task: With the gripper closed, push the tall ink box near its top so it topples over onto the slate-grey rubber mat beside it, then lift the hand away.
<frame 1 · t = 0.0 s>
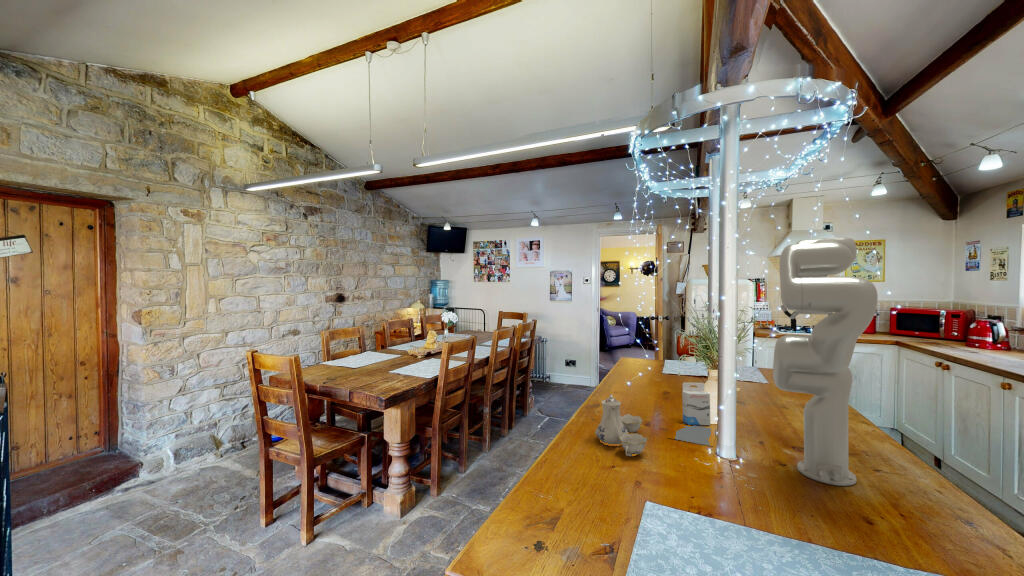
hand: (812, 331, 126), 37 cm above the table, tool pointing down, fingers open, 9 cm apart
chinaware: (621, 443, 130), on the table
ink box: (696, 423, 145), on the table, touching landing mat
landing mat: (692, 434, 135), on the table
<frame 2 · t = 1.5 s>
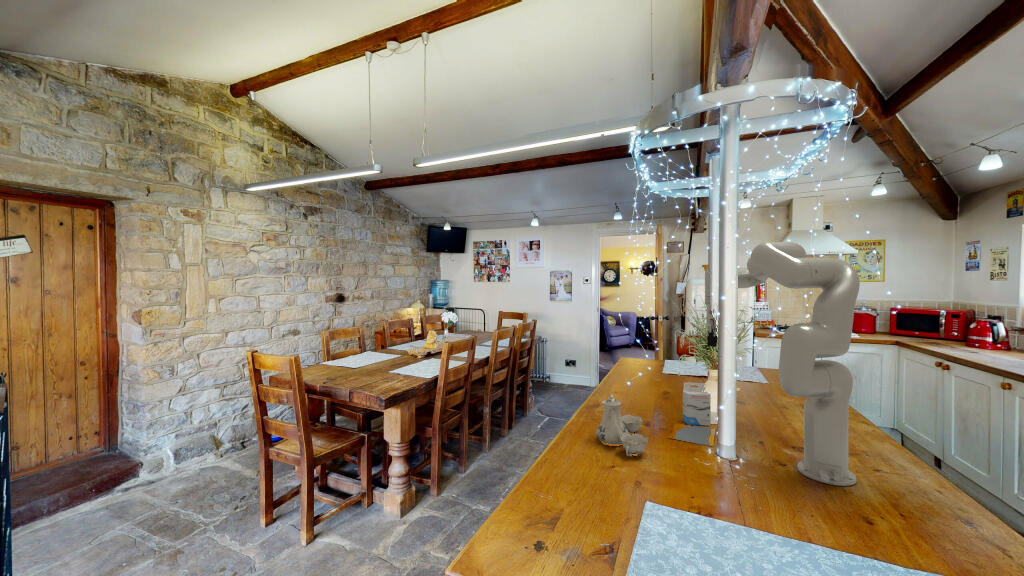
hand: (715, 344, 150), 29 cm above the table, tool pointing down, fingers open, 9 cm apart
nothing on the table moved.
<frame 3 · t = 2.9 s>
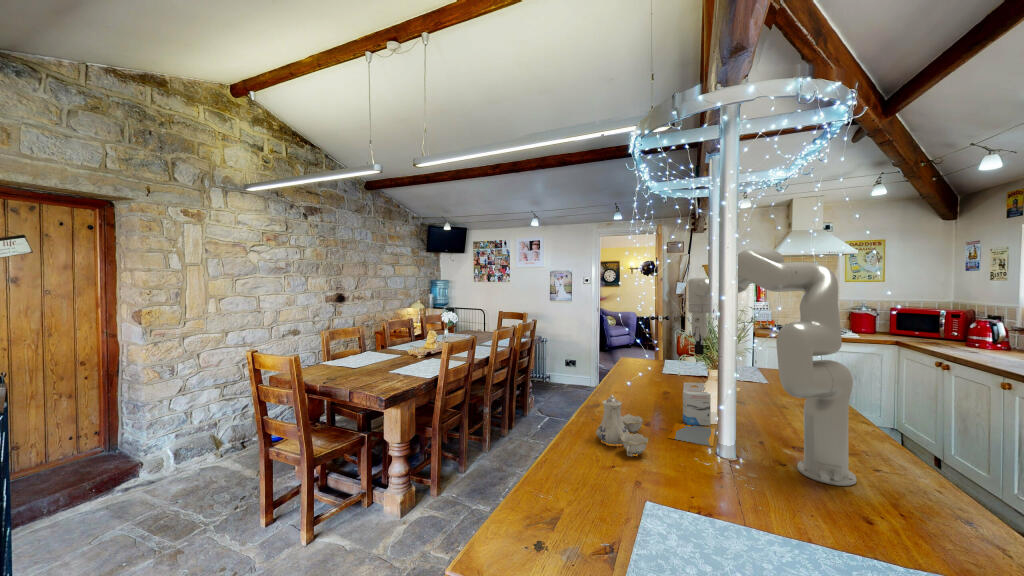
hand: (699, 354, 155), 24 cm above the table, tool pointing down, fingers closed
nothing on the table moved.
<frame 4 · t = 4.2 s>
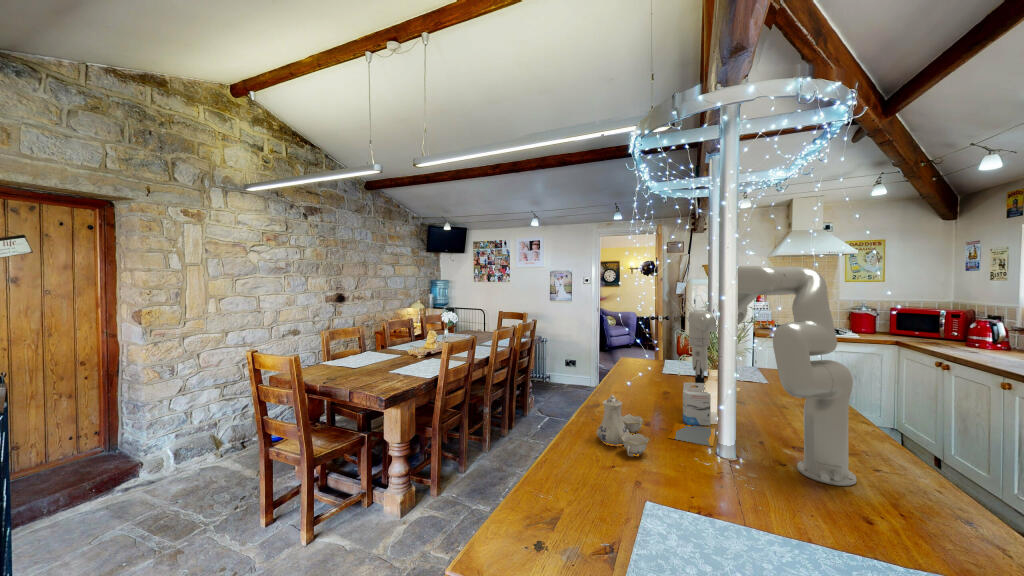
hand: (699, 386, 155), 11 cm above the table, tool pointing down, fingers closed
nothing on the table moved.
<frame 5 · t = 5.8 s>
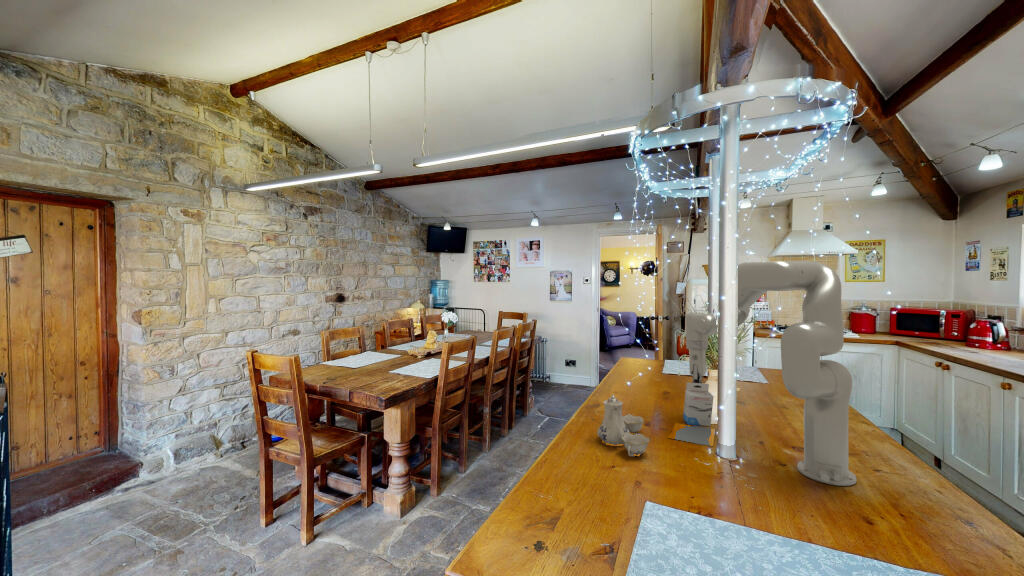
hand: (697, 392, 148), 11 cm above the table, tool pointing down, fingers closed
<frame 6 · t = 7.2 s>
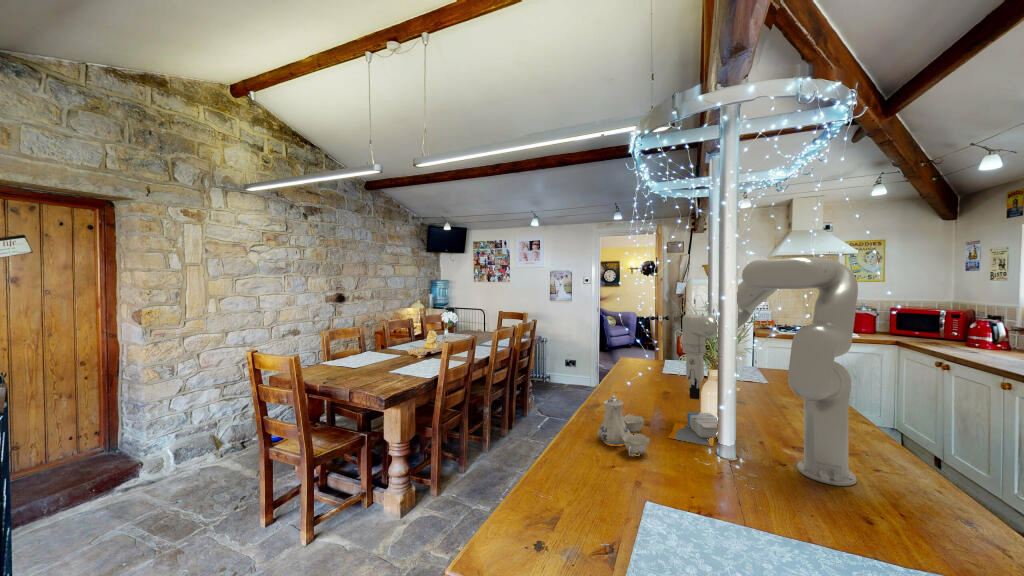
hand: (694, 398, 140), 11 cm above the table, tool pointing down, fingers closed
ink box: (698, 418, 143), point 3 cm above the table, touching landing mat
everything else where it was.
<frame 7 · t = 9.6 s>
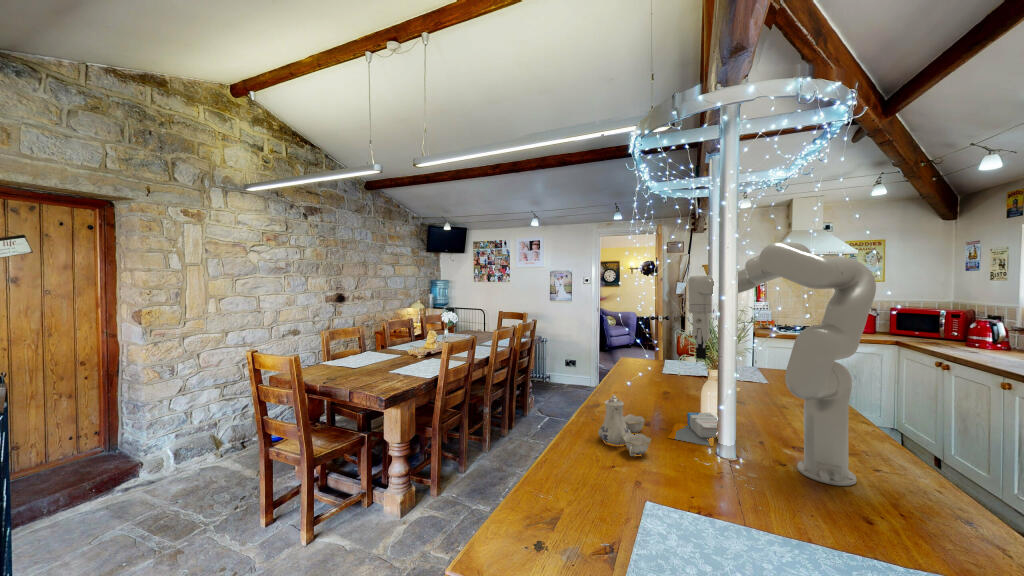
hand: (701, 358, 142), 25 cm above the table, tool pointing down, fingers closed
nothing on the table moved.
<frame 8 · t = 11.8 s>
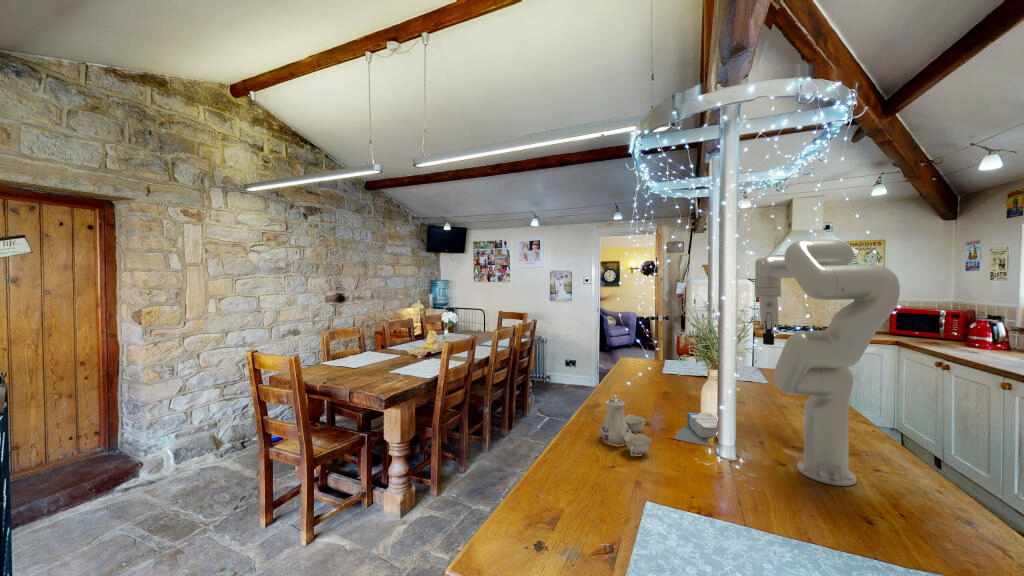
hand: (768, 344, 136), 31 cm above the table, tool pointing down, fingers closed
at the end: ink box tilted 90°; ink box inside the target area (1.9 cm from its centre), point 2.7 cm above the table; ink box touching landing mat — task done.
